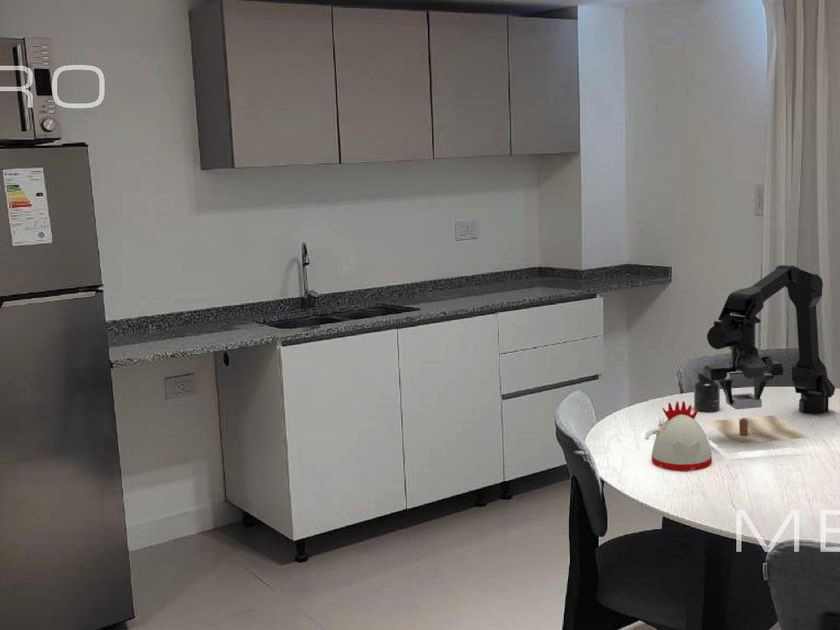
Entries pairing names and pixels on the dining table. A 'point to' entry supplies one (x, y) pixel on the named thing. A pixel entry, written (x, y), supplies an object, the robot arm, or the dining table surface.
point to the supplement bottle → (706, 394)
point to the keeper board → (756, 429)
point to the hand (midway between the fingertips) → (743, 403)
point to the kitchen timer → (681, 442)
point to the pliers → (654, 429)
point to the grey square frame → (745, 401)
